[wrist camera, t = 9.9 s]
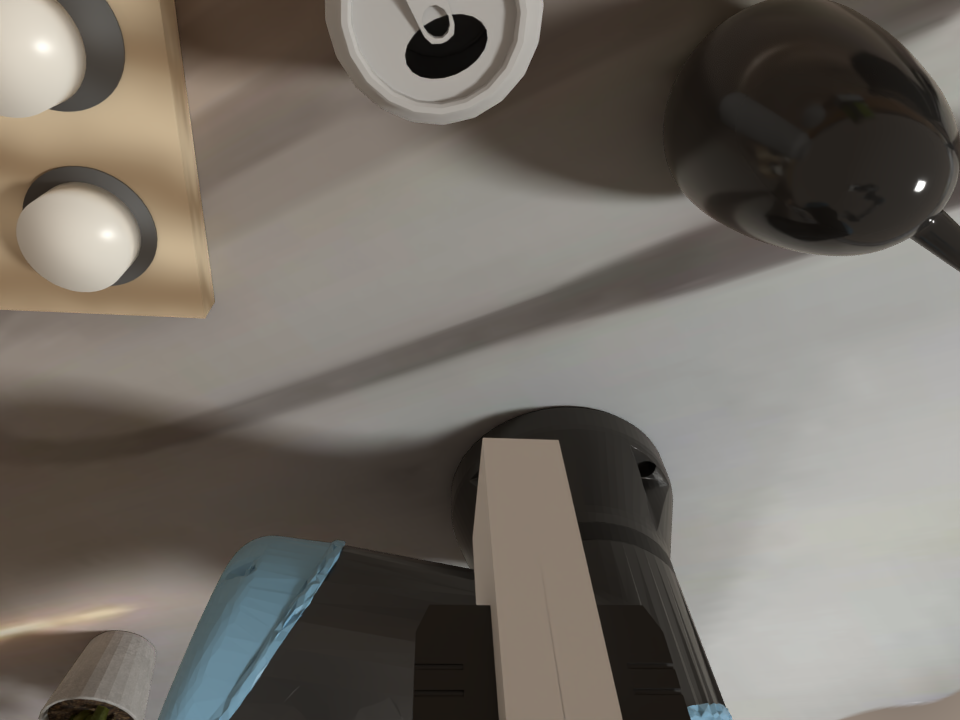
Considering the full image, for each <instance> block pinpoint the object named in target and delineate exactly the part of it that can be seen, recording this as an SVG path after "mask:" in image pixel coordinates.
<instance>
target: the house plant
mask: <svg viewBox="0 0 960 720" xmlns="http://www.w3.org/2000/svg"><path fill="white" fill-rule="evenodd" d="M155 660H156V651H155V649H154V647H153V645H152V644H151V643H150V642H149V641H148V640H146V639H144V638H143V637H141V636H139V635H136V634H134V633H130V632H126V631H107V632H105V633H102V634H100V635H98V636H96V637H95V638H93V639H92V640H91V641H90V642H89V644H88V645H87V646H86V648H85V649H84V651H83V652H82V654H81V655H80V656H79V658H78V659H77V661H76V662H75V663H74V665H73V666H72V668H71V669H70V671H69V672H68V673H67V675H66V676H65V678H64V679H63V680H62V682H61V683H60V685H59V686H58V688H57V689H56V690H55V692H54V693H53V695H52V696H51V697H50V699H49V700H48V702H47V703H46V704H45V706H44V707H43V709H42V710H41V712H40V715H39V720H144V717H145V712H146V706H147V701H148V696H149V691H150V686H151V681H152V675H153V670H154V665H155Z"/></svg>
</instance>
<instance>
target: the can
mask: <svg viewBox="0 0 960 720" xmlns="http://www.w3.org/2000/svg"><path fill="white" fill-rule="evenodd" d="M543 6H544V5H543V0H325V22H326V25H327V28H328V31H329V35H330V38H331V41H332V45H333V48H334V51H335V54H336V57H337V59H338V60H339V62H340V63H341V65H342V66H343V68H344V69H345V71H346V73H347V74H348V76H349V77H350V79H351V80H352V82H353V83H354V85H355V86H356V87H357V88H358V89H359V90H360V91H361V92H362V93H364V94H365V95H366V96H367V97H368V98H369V99H371V100H372V101H373V102H374V103H375V104H376V105H378V106H379V107H380V108H381V109H383V110H385V111H387V112H390V113H392V114H394V115H397V116H399V117H401V118H404V119H406V120H408V121H411V122H416V123H427V124H438V125H446V124H450V123H454V122H459V121H463V120H467V119H471V118H475V117H477V116H478V115H480V114H481V113H483V112H485V111H486V110H488V109H490V108H491V107H493V106H495V105H496V104H498V103H499V102H501V101H502V100H503V99H504V98H505V97H506V96H507V95H508V93H509V92H510V91H511V90H512V89H513V88H514V87H515V85H516V84H517V83H518V82H519V81H520V80H521V78H522V77H523V76H524V75H525V72H526V70H527V68H528V66H529V63H530V61H531V59H532V57H533V54H534V52H535V50H536V48H537V45H538V43H539V37H540V29H541V22H542V14H543Z"/></svg>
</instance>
